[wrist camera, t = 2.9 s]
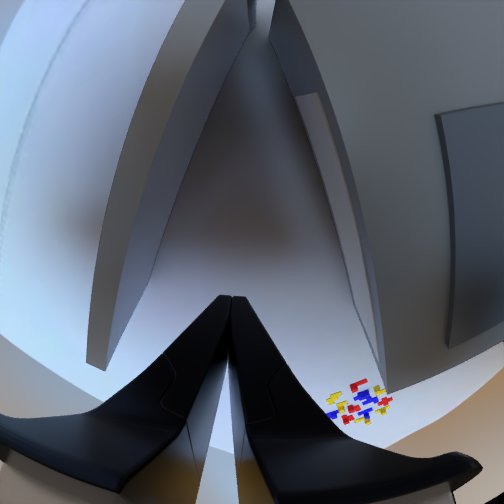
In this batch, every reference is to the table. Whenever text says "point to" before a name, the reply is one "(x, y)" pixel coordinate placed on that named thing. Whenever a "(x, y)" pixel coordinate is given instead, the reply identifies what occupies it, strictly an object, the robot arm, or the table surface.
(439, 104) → the camera box
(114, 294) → the side door
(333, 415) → the building blocks
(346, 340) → the table surface
